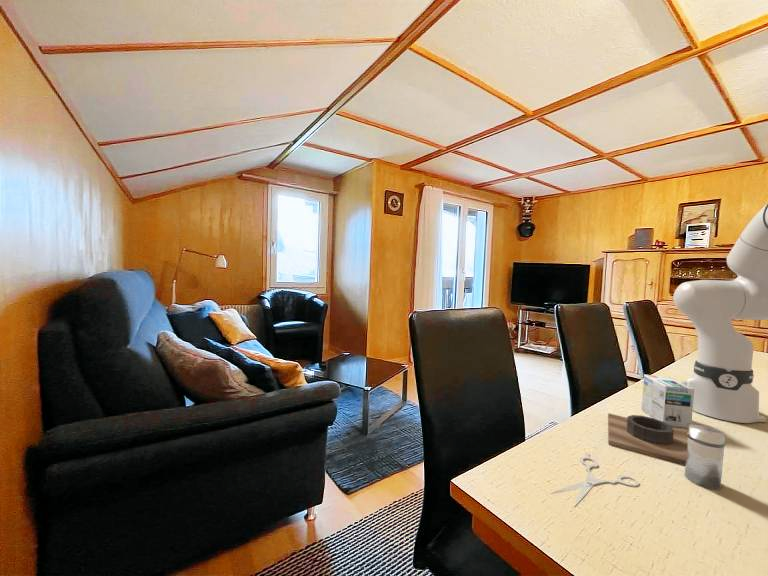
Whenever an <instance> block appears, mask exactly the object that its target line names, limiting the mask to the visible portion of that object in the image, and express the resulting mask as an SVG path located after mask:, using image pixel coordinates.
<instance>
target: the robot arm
mask: <svg viewBox="0 0 768 576" xmlns="http://www.w3.org/2000/svg"><path fill="white" fill-rule="evenodd" d="M726 264H727V267H728V269H730V271H732V272H733V273H735V274H736V275H738V276H737V277H736V278H734V279H733V280H732V279H731V280H720V279H718V280H717V279H699V280H690V281H685V282H682V283H680V284H679V285H678V286H677V287H676V288H675V290H674V293H673V297H672V299H673V304H674V306H675V307H676V309H677V310H678V311H679V312H680V313H682V314H684V316H685V317H686V318H688V319H689V320H690V321H691V324H692V325H693V326H694V328H695V330H696V334H697V356H696V357H697V359H696V360H695V361H694V365H693V374H692V375H691V376H690V377H689V378H688V379H687V380H681V383H682V384H684V385H686V386H688V387H691V388H693V389H694V399H693V411H692V412H696V413H698V414H702V415H704V416H708V417H711V418H715V419H718V420H722V421H727V422H731V423H732V422H734V423H739V424H740V423H742V424H753V423H766V422H767V418H766V417H765V416H763V415H762V414H760V391H759V390H758V389H757V388H756V387H754V386H753V384H752V383H754V382H753V381H754V378H755V377H754V376H755V375H754V370H753V369H752V367H753V358H754V357H753V356H754V346H755V345H754V343H753V341H752V340H751V339H750V338H749V337H747V336H746V335H744V334H743V333H740V332H738V331H737V330H736V329H735V327H734V325H733V319H734V320H750V321H763V320H764V321H765V320H768V203H766V204H765V205H764V206H762V208H760V210H759V211H758V212H757V213H756V214H755V215H754V216H753V217H752V219H751V220H750V221H749V222H748V223H747V225H746V226H745V228H744V229H743V231H742V232H741V234H740V236H739V237H738V239H737V240H736V242H735V243H734V245H733V246H732V248H731V250H730V251H729V253H728V254H727V256H726Z"/></svg>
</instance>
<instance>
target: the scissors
mask: <svg viewBox="0 0 768 576" xmlns="http://www.w3.org/2000/svg"><path fill="white" fill-rule="evenodd" d="M584 455H585V456H581V457H580V458H579V461H580V463H581V464H582V465H583V466H585V467H586V468H585V471H586V472H587V473H588V475H587V477H586V478H585V480H584V481H582V482H578V483H575V484H572V485H571V484H570V485H569V486H565V487H563V488H560V489H556V490H555V491H552V492H551V494H555V493H561V492H568V491H571V490H573V491H574V490H578V489H580V492H579V493H578V495H577V499H576V501H575V504H574V506H573V507H574V508H575V507H576V505H578V504H579V503H580V501H581V500H583V498H584V497H586V495H587V494H588V493H589V492H590V490H591V489H592V488H593V487H594V486H597V485H601V484H610V485H615V484H620V485H622V486H623V485H624V486H626V487H634V488H635V487H638V486H639V485H640V482H639V481H638V480H637V479H636V478H635V477H632V476H629V475H623V474H621V475H617V476H616V478H617V479H614V480H607V479H606V480H605V479H601V478H595V477H594V475H593V474H592V472H591V469H592V468H593V469H594V468H596V469H597V468H598V467H599V464H598V462H597V461H596V460H595V459H593V458H591V457H590V452H584ZM585 460H588V461H591V462H593V464H589V463H586V462H585ZM623 479H630V480H632V481H634V482H635V483H634V484H633V483H628V482H625V481H623Z"/></svg>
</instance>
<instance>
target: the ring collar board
mask: <svg viewBox="0 0 768 576" xmlns="http://www.w3.org/2000/svg"><path fill="white" fill-rule="evenodd" d="M607 426H608V428H607V430H608V432H607V435H608V436H607V440H608V442H607V443H608V445H610V446H613V447H617V448H622V449H625V450H629V451H632V452H635V453H639V454H643V455H647V456H650V457H652V458H653V457H654V458H658V459H661V460H665V461H668V462H672V463H676V464H680V465H683V466H685V465H686V454H687V442H688V432H687V431H686V430H683V429H679V428H676V427H675V428H674V427H673V426H670V425H668V424H667V423H665V422H662V421H660V420H657V419H654V418H653V417H651V416H649V417H648V416H645V415H635V414H632V415H627V417H626V416H622V415H617V414H614V413H610V412H608V414H607Z"/></svg>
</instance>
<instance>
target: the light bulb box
mask: <svg viewBox="0 0 768 576" xmlns="http://www.w3.org/2000/svg"><path fill="white" fill-rule="evenodd" d="M642 384H643V385H642V395H641V396H642V397H641V406H640V407H641V408H640V409H642V410H641V411H643V412H644V411H645V412H644V413H645V414H647V415H648V414H649V417H650V418H654V419H657V420H660V421H662V422H665V423H667V424H668V425H670V426H672V427H673V428H674V427H675V428H676V427H677V428H685V429H689V425H693V420H692V419H693V412H694V411H693V399H694V389H693V388H691V387H688V386H686V385H684V384H682V382H680V381H678V380H675V379H673V378H671V377H670V376H663V375H652V374H643V383H642Z"/></svg>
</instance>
